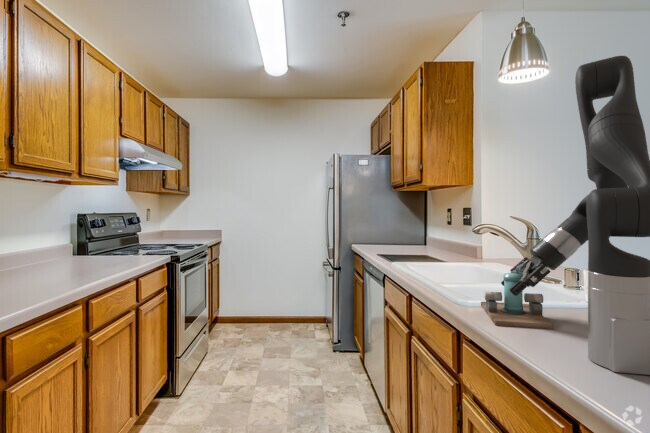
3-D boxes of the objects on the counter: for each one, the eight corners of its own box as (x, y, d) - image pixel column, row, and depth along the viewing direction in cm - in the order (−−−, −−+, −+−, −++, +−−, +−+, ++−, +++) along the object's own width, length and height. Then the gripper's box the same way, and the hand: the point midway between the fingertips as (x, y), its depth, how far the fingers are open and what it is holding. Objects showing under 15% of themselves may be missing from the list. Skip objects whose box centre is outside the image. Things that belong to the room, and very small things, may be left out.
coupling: (525, 313, 91) (525, 276, 91) (506, 312, 92) (506, 275, 92) (520, 308, 95) (520, 273, 95) (501, 307, 96) (501, 272, 96)
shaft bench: (555, 329, 83) (555, 303, 83) (493, 325, 87) (492, 300, 86) (530, 308, 101) (530, 286, 100) (479, 305, 104) (479, 284, 104)
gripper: (534, 236, 98) (491, 274, 101) (554, 241, 84) (503, 285, 87) (555, 255, 97) (510, 293, 100) (579, 262, 83) (526, 306, 86)
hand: (507, 289), depth 94 cm, fingers open, 8 cm apart
